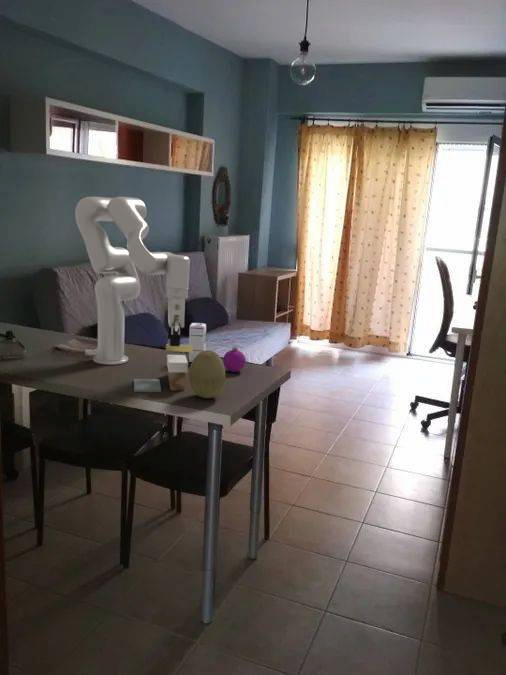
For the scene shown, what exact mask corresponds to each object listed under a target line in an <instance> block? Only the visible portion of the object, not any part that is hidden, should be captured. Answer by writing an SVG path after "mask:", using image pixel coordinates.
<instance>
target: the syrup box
mask: <svg viewBox="0 0 506 675" xmlns="http://www.w3.org/2000/svg"><path fill="white" fill-rule="evenodd" d="M188 337H189V340H188V343H189V344H188V345H191V346H193V352H192V353H189V352H188V363H189V362H192V361H193V360H194V358H195V357H196V356H197V355H198V354H199V353H200V352H202V351H206V344H207V343H206V341H207V323H203V322H191V324H190V325H189V336H188Z"/></svg>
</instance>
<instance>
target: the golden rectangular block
mask: <svg viewBox="0 0 506 675" xmlns="http://www.w3.org/2000/svg"><path fill="white" fill-rule="evenodd" d="M165 346H166V347H165V351H169V352H172V355H178V352H181V353H188V354H189V353H192V352H193V346H191V345H189V344H188V345H187V344H180V346H170V342H169V343H166V344H165Z"/></svg>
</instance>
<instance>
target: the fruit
mask: <svg viewBox="0 0 506 675" xmlns="http://www.w3.org/2000/svg"><path fill="white" fill-rule="evenodd" d="M225 369H226V368H225V366H224V364H223V358H221V356H220V355H219V354H218V353H217V352H216V351H214V350H210V349H209V350H205V351H202V352H200V353H199V354H198V355H197V356H196V357H195V358H194V360H193V361H192V363H190V366H189V369H188V370H189V371H188V380H189V384H190V387H191V389H192V391H193V392H194V393H195V395H197V396H198V397H199V398H202V399H212V398H215V397H216V396H218V395H219V394H220V393H221V392H222V390H223V388H224V385H225V382H226V370H225Z"/></svg>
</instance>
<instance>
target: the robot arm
mask: <svg viewBox="0 0 506 675" xmlns="http://www.w3.org/2000/svg"><path fill="white" fill-rule="evenodd" d="M76 204H77V205H76V207H75V213H74V216H75V218H74V219H75V222H76V225H77V228H78V229H79V232H80V234H81V236H82V239H83V240H84V245H85V249H86V252H87V255H88V258H89V260H90V264H91V267H92V269H93V270H94V272H95V273H96V274H97V273H98V274H113V275H106V276H102V277H100V278H99V279H98V280H97V281H96V283H95V285H94V293H95V294H94V295H95V298H96V305H97V347H96V348H94V349H85V350H84V351H85V352H84V353H85V354H84V355H87V356H89V357H90V356H93V359H92V360H93V362H94V363H96V364H101V365H108V366H109V365H122V364H125V363H127V362H128V361H129V357H128V356H127V355H125V320H126V319H125V318H126V317H125V311H124V307H123V306H122V304H121V302H124V301H130V300H135V299H136V298H138V297H139V295H140V294H141V283H140V282H141V281H140V278H139V276H138V271H137V269H138V270H139V271H140V272H141V273H142V274H144V275H146V276H156V275H165V290H164V292H165V293H164V294H165V295H164V297H166V298H168V304H167V318H168V319H167V320H168V334H167V335H168V336H167V338H168V339H169V343H170V346H180V345H181V329H183V328H185V313H186V312H185V310H186V305H185V304H186V303H185V302H186V301H185V300H186V299H188V298H189V287H190V286H189V284H190V283H189V282H190V269H191V266H190V265H191V260H190V258H189V257H188V256H187V255H183V254H182V255H181V254H175V253H172V252H168V251H149V250H148V249H147V247H146V246H145V245H144V243H143V241H142V240H144V239H145V238H146V236H148V233H149V231H150V229H149V224H147V222H146V221H145V220H144V219H145V218H146V216H147V206H146V204H145V202H143V200H142V199H140V198H138V197H130V196H128V197H127V196H117V197H105V196H104V197H103V196H87V197H84V198H82V199H80V200H79V201H78V202H77V203H76ZM99 222H114V224H115V225H116V226H117V227H118V229H119V230H120V231H121V232H122V234H123V235H124V237H125V239H127V243H126V247H127V249H126V248H124V247H121V246H112V245H111V243H110V241H109V236H108V234H107V232H106V230H105V229H104V228H103V226H101V225H100V224H99Z"/></svg>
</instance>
